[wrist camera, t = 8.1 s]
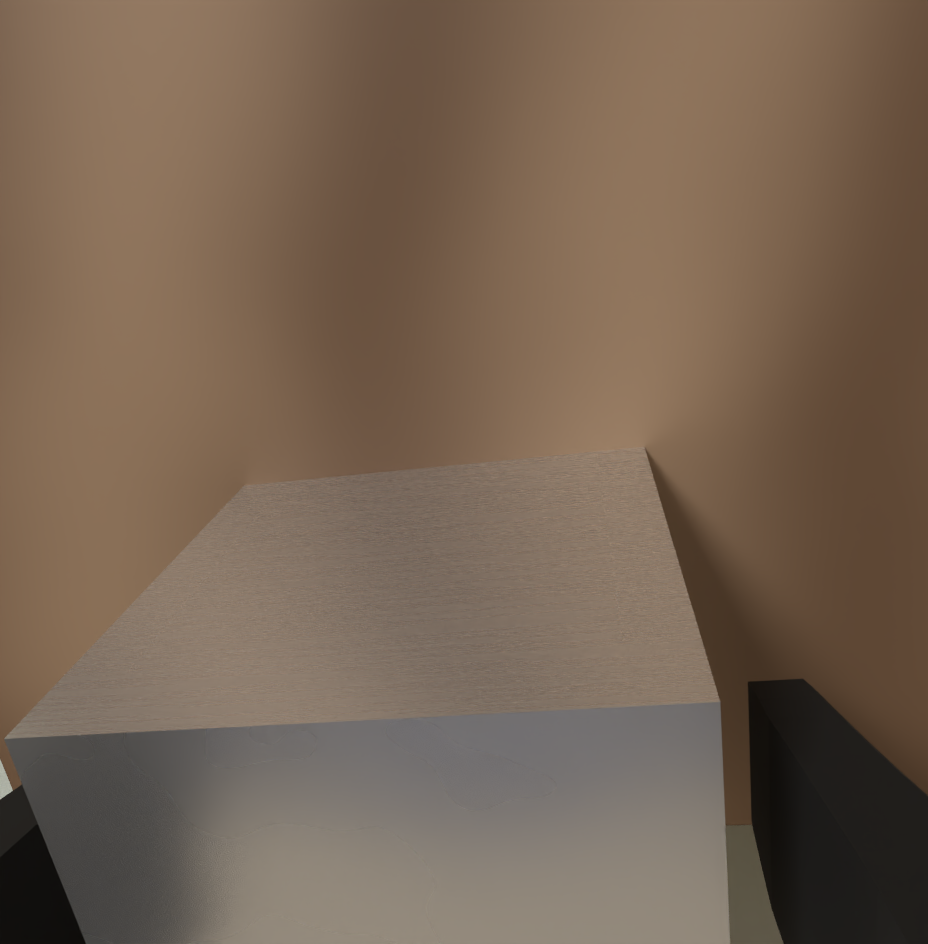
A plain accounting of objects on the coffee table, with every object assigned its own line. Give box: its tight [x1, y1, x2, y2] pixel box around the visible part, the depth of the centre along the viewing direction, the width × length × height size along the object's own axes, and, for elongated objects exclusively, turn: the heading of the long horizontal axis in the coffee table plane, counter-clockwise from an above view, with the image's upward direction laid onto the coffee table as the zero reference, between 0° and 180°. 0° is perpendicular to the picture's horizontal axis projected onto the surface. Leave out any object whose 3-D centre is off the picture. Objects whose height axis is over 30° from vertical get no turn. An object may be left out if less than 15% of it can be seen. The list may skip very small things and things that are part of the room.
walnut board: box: [0, 0, 928, 825], centre depth 9 cm, size 16×14×5 cm
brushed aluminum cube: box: [4, 447, 730, 944], centre depth 9 cm, size 5×5×5 cm
